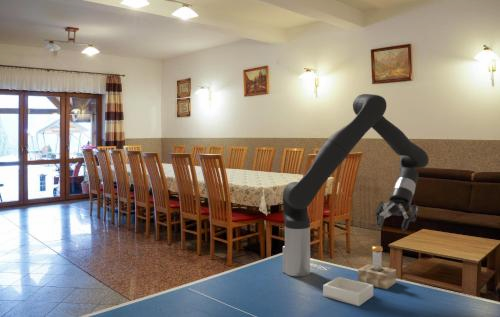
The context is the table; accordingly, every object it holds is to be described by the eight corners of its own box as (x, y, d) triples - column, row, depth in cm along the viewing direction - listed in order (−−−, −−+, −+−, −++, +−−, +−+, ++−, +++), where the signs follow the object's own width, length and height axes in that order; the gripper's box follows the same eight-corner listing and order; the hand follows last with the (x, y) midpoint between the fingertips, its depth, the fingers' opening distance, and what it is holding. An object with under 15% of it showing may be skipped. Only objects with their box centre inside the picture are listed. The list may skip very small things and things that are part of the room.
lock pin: (370, 282, 142) (370, 247, 141) (374, 280, 144) (374, 245, 144) (379, 285, 140) (380, 249, 139) (383, 282, 142) (384, 246, 141)
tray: (323, 296, 130) (323, 285, 130) (338, 287, 138) (338, 276, 138) (358, 306, 123) (358, 294, 122) (373, 295, 130) (373, 284, 130)
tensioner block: (358, 282, 142) (358, 269, 142) (368, 276, 148) (368, 263, 148) (386, 289, 136) (386, 275, 135) (396, 282, 142) (396, 269, 141)
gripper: (382, 184, 160) (369, 219, 152) (420, 187, 151) (408, 224, 143) (387, 196, 165) (375, 231, 157) (424, 200, 155) (413, 236, 147)
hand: (391, 227), depth 150 cm, fingers open, 8 cm apart
